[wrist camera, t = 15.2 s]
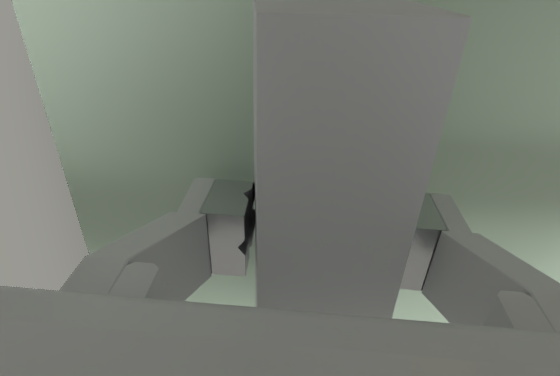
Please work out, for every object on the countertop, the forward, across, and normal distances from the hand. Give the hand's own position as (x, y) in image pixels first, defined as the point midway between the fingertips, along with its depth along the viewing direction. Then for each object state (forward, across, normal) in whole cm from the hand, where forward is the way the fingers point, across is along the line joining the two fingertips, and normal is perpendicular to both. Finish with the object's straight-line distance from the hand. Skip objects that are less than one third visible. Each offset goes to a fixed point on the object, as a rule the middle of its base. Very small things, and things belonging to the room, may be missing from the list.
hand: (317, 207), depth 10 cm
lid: (+3, -3, 0) cm, 5 cm away
